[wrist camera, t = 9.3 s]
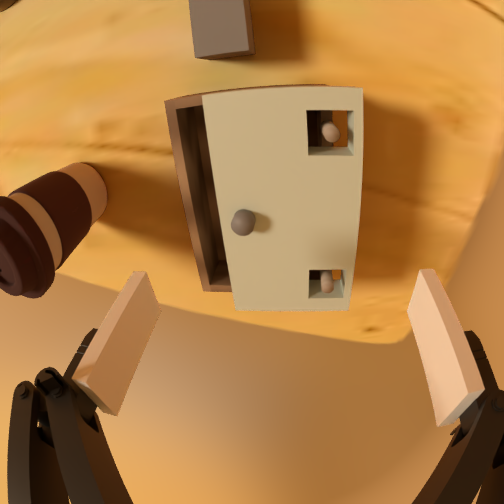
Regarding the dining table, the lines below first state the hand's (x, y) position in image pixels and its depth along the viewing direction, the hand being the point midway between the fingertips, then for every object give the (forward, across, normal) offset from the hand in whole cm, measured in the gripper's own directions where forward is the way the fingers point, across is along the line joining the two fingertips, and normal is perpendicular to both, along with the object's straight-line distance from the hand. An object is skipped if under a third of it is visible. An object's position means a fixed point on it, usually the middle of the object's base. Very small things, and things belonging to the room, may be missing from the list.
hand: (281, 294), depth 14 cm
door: (+11, 0, -1) cm, 11 cm away
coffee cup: (+16, -23, 0) cm, 28 cm away
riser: (+16, -4, +19) cm, 26 cm away
